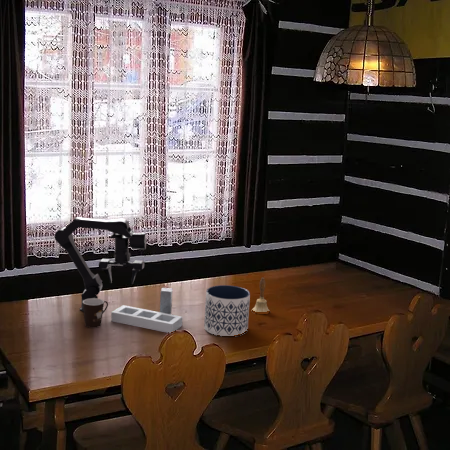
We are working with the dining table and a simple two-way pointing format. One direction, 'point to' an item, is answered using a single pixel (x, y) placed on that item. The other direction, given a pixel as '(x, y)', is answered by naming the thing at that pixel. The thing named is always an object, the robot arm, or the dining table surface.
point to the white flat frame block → (146, 319)
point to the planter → (226, 310)
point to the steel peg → (166, 300)
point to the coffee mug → (93, 311)
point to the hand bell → (261, 299)
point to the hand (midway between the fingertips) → (121, 283)
